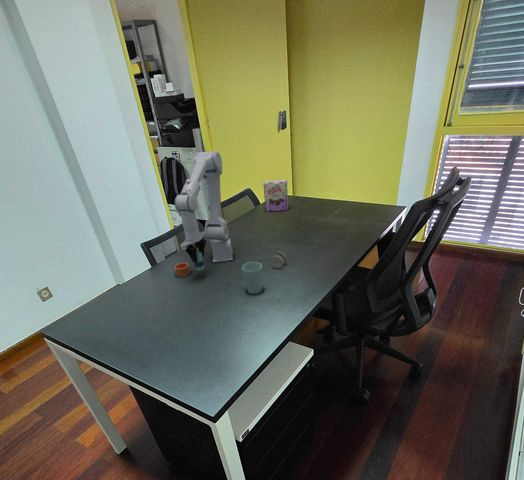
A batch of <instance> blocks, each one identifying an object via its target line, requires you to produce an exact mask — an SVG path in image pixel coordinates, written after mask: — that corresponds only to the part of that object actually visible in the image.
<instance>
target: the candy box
mask: <svg viewBox="0 0 524 480" xmlns="http://www.w3.org/2000/svg"><path fill="white" fill-rule="evenodd" d="M288 193H289V192H288V179H278V180H264V182H263V196H264V208H265V212H285V211H288V210H289V197H288V195H289V194H288Z"/></svg>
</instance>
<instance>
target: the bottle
mask: <svg viewBox="0 0 524 480" xmlns="http://www.w3.org/2000/svg"><path fill="white" fill-rule="evenodd" d="M198 250H199V249H198V248H197V249H196V255H197V262H193V265H194V267H195V270H196V271H199V272H200V271H203V270H205V268H206V265H205V262H204V258H203V256H202V253H201V252H200V251H198Z"/></svg>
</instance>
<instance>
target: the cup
mask: <svg viewBox="0 0 524 480" xmlns="http://www.w3.org/2000/svg"><path fill="white" fill-rule="evenodd" d="M241 270H242V273H243V277H244V281H245V285H246V289H247V292H248V293H249V294H251V295H256V294H259V293H261V292H262V289H263V264H262V263H261V262H258V261H249V262H246V263H244V264H243V265H242V266H241Z"/></svg>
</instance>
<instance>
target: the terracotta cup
mask: <svg viewBox="0 0 524 480" xmlns="http://www.w3.org/2000/svg"><path fill="white" fill-rule="evenodd" d="M174 271H175V274H176V276H177V277H187V276H188V275H190V274H191V269H190V265H189V263H187V262H181V263H177V264H175V266H174Z"/></svg>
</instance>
